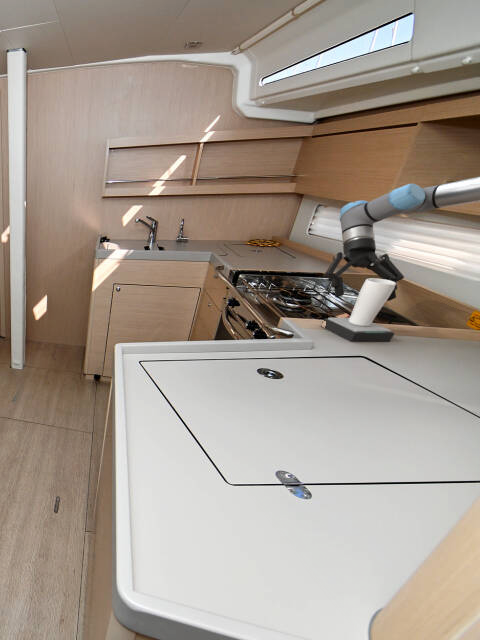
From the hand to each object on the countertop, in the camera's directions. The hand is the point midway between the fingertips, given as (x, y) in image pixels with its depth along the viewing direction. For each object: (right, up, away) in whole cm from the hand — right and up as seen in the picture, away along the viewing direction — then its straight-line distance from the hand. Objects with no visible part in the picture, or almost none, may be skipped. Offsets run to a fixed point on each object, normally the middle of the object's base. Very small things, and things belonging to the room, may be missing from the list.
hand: (364, 297), depth 118 cm
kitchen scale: (-1, -12, +3) cm, 13 cm away
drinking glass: (-1, -9, +1) cm, 9 cm away
